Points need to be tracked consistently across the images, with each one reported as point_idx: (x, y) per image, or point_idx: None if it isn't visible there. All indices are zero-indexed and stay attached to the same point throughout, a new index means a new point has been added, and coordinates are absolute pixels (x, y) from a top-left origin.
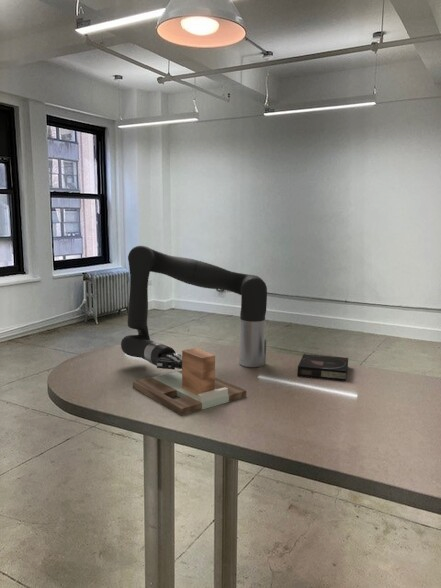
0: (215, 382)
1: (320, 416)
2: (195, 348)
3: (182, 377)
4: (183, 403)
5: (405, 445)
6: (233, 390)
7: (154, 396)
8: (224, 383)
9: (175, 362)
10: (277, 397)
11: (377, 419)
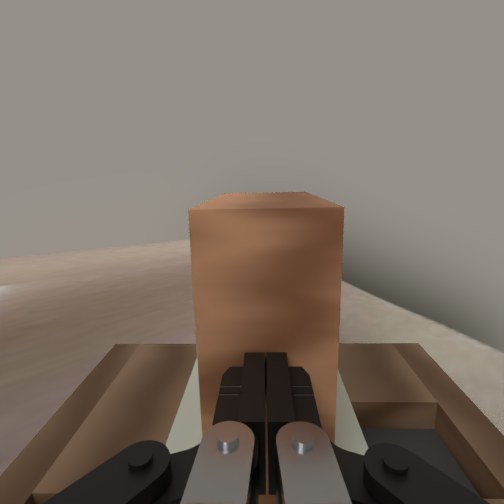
0: (78, 462)
1: (139, 280)
2: (203, 207)
3: (333, 433)
4: (399, 363)
5: (164, 247)
6: (145, 359)
7: None
8: (70, 424)
9: (347, 486)
10: (71, 333)
11: (100, 262)
